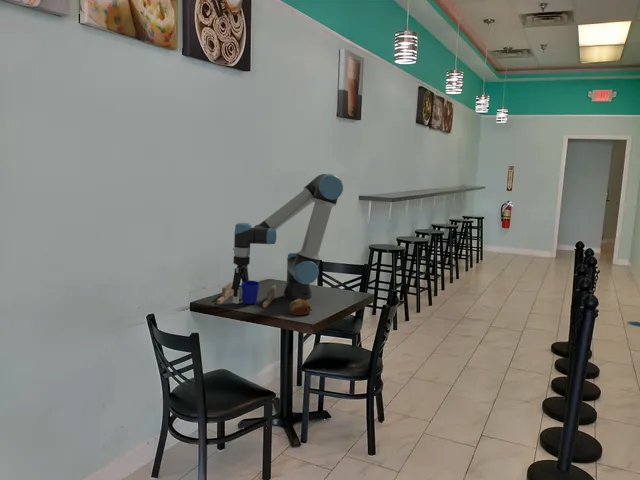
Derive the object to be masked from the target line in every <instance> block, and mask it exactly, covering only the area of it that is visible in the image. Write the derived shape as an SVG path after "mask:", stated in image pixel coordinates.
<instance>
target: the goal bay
mask: <svg viewBox="0 0 640 480" xmlns="http://www.w3.org/2000/svg"><path fill="white" fill-rule="evenodd" d="M224 302H225V300H224V297H222V296H220V297H219V298H217V299H216V305H221V304H222V303H224ZM269 305H270V303H269V300H267V299H266V300H264V302H263V303H262V308H268V306H269Z"/></svg>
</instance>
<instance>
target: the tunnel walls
mask: <svg viewBox="0 0 640 480" xmlns="http://www.w3.org/2000/svg"><path fill="white" fill-rule="evenodd" d="M232 284H233V282H229V283H228V284H226V285H225V286H223V287H222V288H221V297H224V301H226V300H228V299H229V298H230V297H232V296H233V289H231V287H232ZM276 296H277V285H275V284H274V285H272V286H271V287H270V288H269V289H268V290H267V291H266V300H269V304H271V302H273V300H274V299H275V298H276Z"/></svg>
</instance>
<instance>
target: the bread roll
mask: <svg viewBox="0 0 640 480" xmlns="http://www.w3.org/2000/svg"><path fill="white" fill-rule="evenodd" d="M312 311H313V309H312V305H311V303H309V302H308V301H307V300H302V299H296V300H292V301H291V302H290V303H289V306H288V313H289V314H290V315H291V316H303V315H309V313H311V312H312Z"/></svg>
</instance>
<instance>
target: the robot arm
mask: <svg viewBox="0 0 640 480" xmlns="http://www.w3.org/2000/svg"><path fill="white" fill-rule="evenodd" d="M343 192H344V185H343V181H342V179H340V177H338V176H337V175H335V174H332V173H321V174H319V175H317V176H316V177H315V178H313V179H312V180H311V181H310V182H308V183H307V184H306V185H305V186H304V187H303V190H302V191H301V192H299V193H298V194H296V195H295V196H293V198H291V199H290V200H289V201H287V202H286V203H285V204H283V205H282V206H281V207H280V208H279V209H277V210H276V211H275V212H273V213H272V214H271V215H269V216H268V217H266V218H265V219H264V220H263V221H261V222H260V223H258V224H255V225H254V226H253V227H252V224H251V223H248V222H237V223H236V224H235V227H234V238H233V239H234V241H233V242H234V245H233V248H232V250H233V255H234V256H233V264H234V265H236V267H235V268H234V274H233V277H232V278H233V280H232V283H233V284H232V287H231V289H233V295H232V304H240V301H239V299H240V296H241V297H242V287H239V285H242V282H243V281H247V280H249V268H248V266H249V264H251V263H250V256H251V244H252V245H253V244H256V245H257V244H258V245H275V244H276V242H277V230H279V229H280V228H281V227H282V226H284V225H285V224H286V223H287V222H289V221H290V220H292V219H293V218H294V217H295V216H297V215H298V214H299V213H300V212H302V211H303V210H305V209H306V208H307V207H309V206H310V205H311V204H312V203H313V204H314V205H313V207H312V212H311V215H310V218H309V222H308V225H307V229H306V231H305V235H304V239H303V243H302V247H301V249H300V250H298V251H297V252H290V253H287V258H286V262H287V264H286V265H287V266H286V283H285V285H284V289H283V292H282V297H283V299H286V300H289V301H290V300H291V301H294V300H296V299H302V300H305V301H307V299H308V300H310V298H311V299H312V298H313V292H312V288H311V284H312V283H314V282H315V281H317V279H318V277H319V273H320V271H319V265H320V261H321V258H320V256H319V252H320V249H321V246H322V244H323V243H322V242H323V239H324V237H325V236H324V235H325V233H326V229H327V225H328V222H329V219H330V216H331V211H332V209H333V208H334V207H335V206H336V205H337V202H338V200H339V198H340V196H342V194H343Z"/></svg>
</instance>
